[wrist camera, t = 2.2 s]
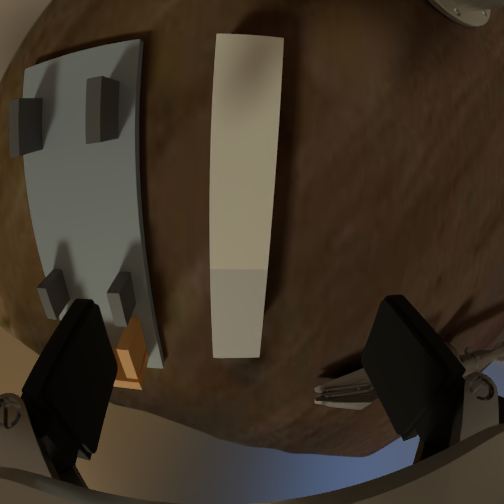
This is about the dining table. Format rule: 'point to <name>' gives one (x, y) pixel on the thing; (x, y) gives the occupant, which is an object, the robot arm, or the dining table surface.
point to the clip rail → (90, 194)
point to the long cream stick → (242, 186)
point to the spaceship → (363, 393)
